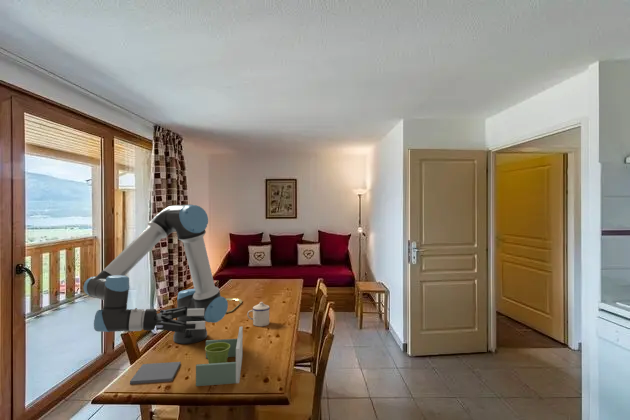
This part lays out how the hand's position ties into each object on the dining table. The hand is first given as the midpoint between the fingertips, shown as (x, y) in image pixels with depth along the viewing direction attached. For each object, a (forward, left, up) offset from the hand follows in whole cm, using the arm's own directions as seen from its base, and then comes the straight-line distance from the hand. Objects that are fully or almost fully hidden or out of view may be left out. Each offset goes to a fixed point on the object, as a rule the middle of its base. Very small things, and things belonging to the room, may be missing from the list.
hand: (204, 318), depth 136 cm
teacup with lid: (-17, +52, -19) cm, 58 cm away
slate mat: (-12, -12, -19) cm, 26 cm away
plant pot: (+5, +2, -19) cm, 20 cm away
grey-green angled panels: (+6, +3, -19) cm, 20 cm away
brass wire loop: (-58, +67, -20) cm, 91 cm away
